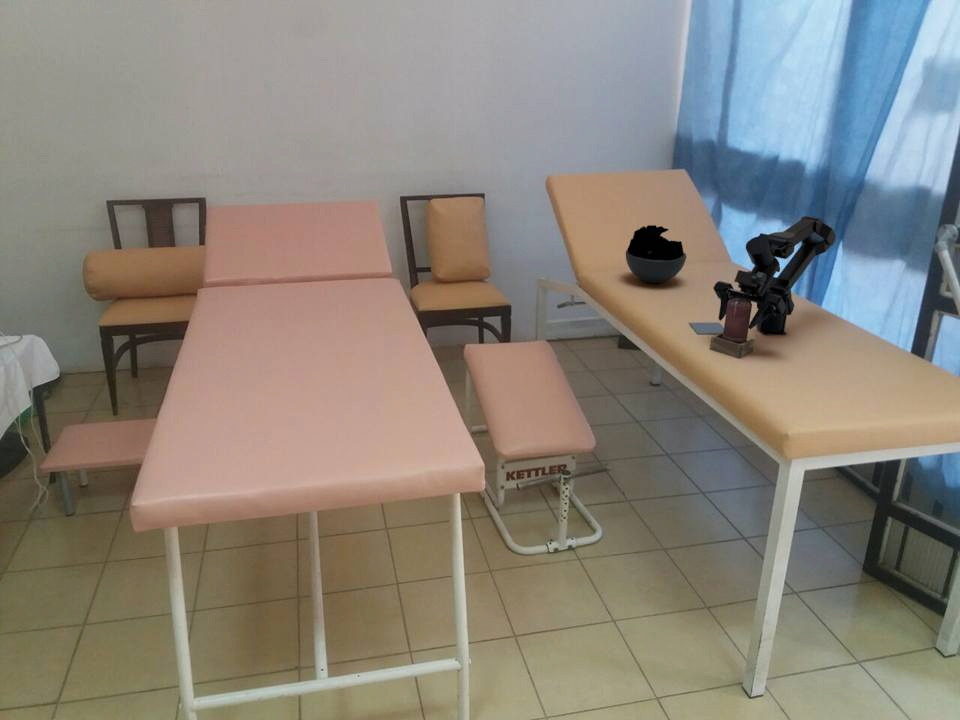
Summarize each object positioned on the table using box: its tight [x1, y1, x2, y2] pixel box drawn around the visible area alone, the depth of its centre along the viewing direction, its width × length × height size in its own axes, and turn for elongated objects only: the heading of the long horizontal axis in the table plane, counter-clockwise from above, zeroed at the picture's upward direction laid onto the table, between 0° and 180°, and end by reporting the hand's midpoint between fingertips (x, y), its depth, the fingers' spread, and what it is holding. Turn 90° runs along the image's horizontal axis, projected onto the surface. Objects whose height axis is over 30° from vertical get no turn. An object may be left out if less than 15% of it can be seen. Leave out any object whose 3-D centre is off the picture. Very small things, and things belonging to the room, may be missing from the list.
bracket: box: [709, 331, 756, 359], centre depth 208 cm, size 7×9×4 cm
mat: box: [688, 322, 724, 335], centre depth 223 cm, size 9×9×1 cm
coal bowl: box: [625, 224, 687, 284], centre depth 262 cm, size 20×20×19 cm
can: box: [723, 297, 753, 344], centre depth 206 cm, size 6×6×14 cm
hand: (734, 324), depth 205 cm, fingers open, 8 cm apart
